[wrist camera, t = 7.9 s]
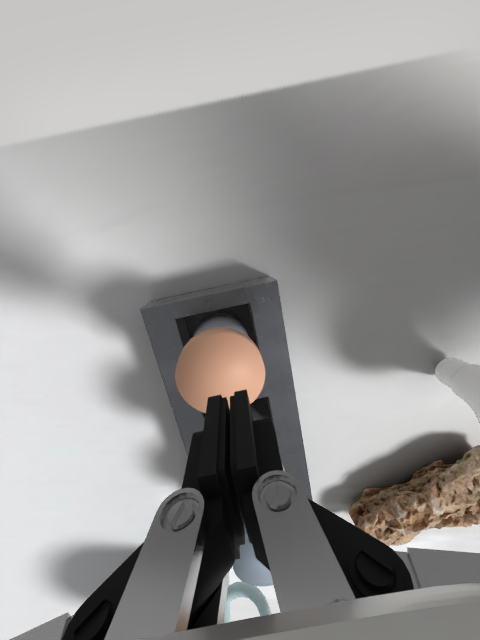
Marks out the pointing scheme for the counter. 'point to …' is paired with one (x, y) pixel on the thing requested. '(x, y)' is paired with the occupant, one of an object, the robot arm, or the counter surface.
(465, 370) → the lightbulb
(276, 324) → the key panel
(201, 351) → the terracotta key
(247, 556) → the light blue cylinder
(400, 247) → the counter surface
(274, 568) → the robot arm
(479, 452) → the rock
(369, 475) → the counter surface
